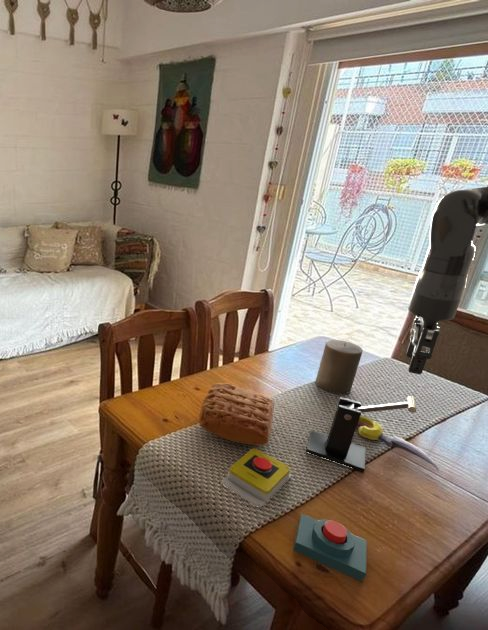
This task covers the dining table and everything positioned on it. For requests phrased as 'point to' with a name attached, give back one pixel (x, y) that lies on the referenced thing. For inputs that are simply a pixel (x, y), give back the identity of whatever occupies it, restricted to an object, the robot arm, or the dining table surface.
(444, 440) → the dining table surface
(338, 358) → the pillar candle
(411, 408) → the lever
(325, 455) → the black lever stand
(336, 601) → the dining table surface
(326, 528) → the button
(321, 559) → the button block
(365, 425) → the knife
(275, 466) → the emergency button
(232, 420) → the inscribed clay slab
